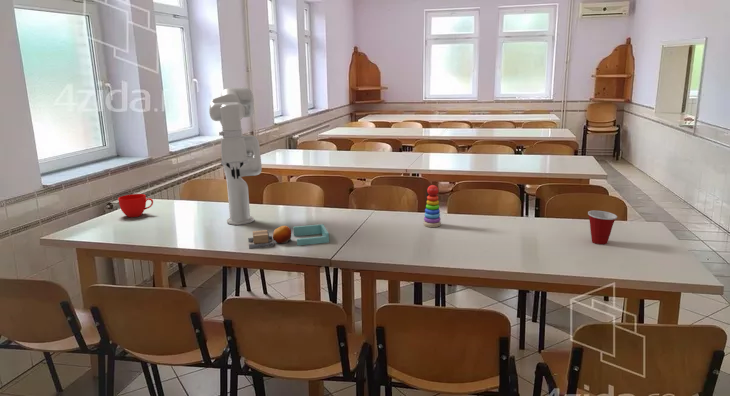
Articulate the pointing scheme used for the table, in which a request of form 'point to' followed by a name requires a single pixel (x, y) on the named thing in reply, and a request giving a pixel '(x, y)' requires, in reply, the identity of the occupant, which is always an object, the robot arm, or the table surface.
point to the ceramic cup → (133, 204)
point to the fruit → (282, 234)
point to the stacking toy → (432, 208)
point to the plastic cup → (601, 226)
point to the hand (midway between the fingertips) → (236, 178)
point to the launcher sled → (261, 236)
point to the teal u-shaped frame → (310, 231)
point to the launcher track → (260, 243)
